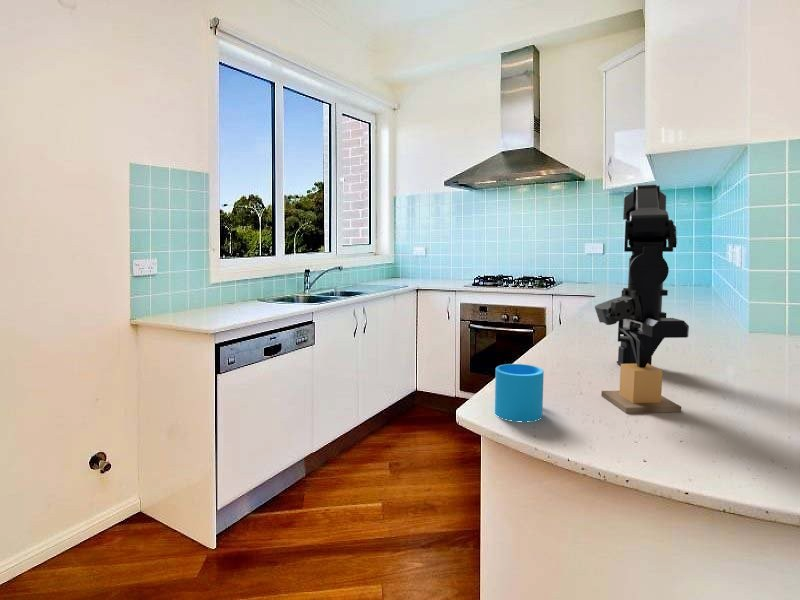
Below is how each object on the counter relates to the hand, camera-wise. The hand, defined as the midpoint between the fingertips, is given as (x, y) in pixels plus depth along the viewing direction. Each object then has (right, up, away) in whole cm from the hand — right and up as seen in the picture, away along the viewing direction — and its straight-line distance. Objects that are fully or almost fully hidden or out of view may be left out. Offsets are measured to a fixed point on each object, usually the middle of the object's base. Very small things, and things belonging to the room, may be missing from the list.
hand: (641, 367), depth 93 cm
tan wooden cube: (0, -6, +1) cm, 6 cm away
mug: (-23, -8, -3) cm, 24 cm away
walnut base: (0, -7, +1) cm, 7 cm away
